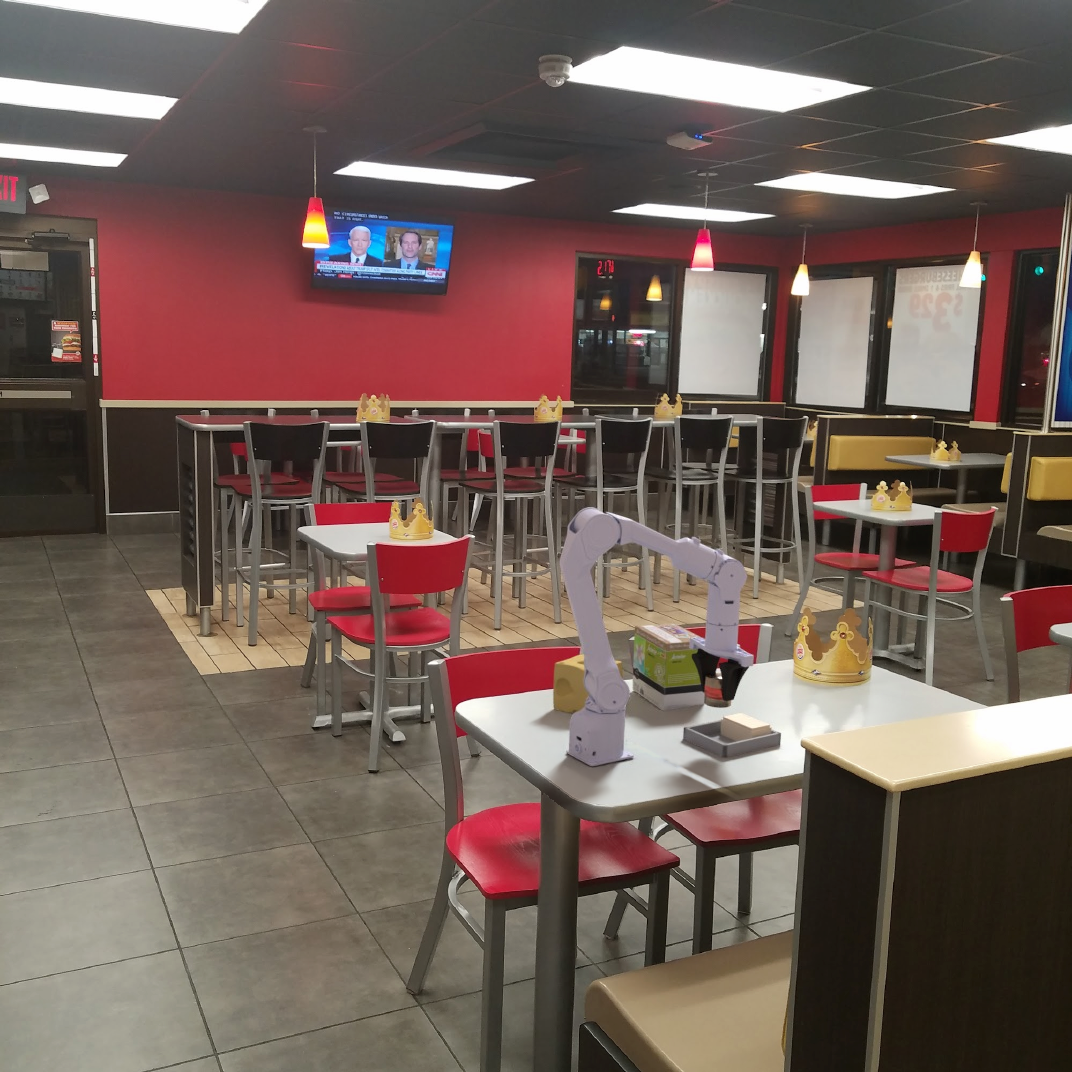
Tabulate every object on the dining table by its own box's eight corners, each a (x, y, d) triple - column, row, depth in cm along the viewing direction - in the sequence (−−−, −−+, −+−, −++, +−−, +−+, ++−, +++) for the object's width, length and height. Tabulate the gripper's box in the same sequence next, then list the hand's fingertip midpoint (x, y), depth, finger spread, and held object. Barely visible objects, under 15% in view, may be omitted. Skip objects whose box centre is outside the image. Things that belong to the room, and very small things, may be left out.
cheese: (593, 721, 205) (595, 671, 204) (549, 709, 212) (551, 661, 210) (622, 708, 214) (624, 661, 212) (578, 697, 220) (580, 651, 218)
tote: (724, 761, 185) (725, 745, 185) (682, 742, 194) (683, 727, 194) (780, 748, 193) (781, 733, 192) (737, 731, 202) (738, 716, 201)
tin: (716, 709, 186) (718, 682, 185) (698, 701, 190) (699, 675, 189) (737, 705, 188) (738, 678, 188) (718, 698, 192) (719, 671, 192)
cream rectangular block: (750, 747, 191) (752, 729, 190) (720, 734, 197) (721, 716, 197) (770, 743, 193) (771, 724, 193) (739, 730, 200) (740, 712, 200)
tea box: (630, 691, 226) (633, 624, 224) (671, 687, 229) (675, 622, 227) (662, 712, 212) (666, 641, 210) (706, 708, 215) (710, 638, 213)
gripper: (767, 628, 183) (763, 703, 185) (711, 612, 195) (707, 682, 197) (738, 633, 179) (733, 709, 181) (682, 615, 191) (678, 687, 193)
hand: (718, 695), depth 189 cm, fingers closed on tin, 5 cm apart
